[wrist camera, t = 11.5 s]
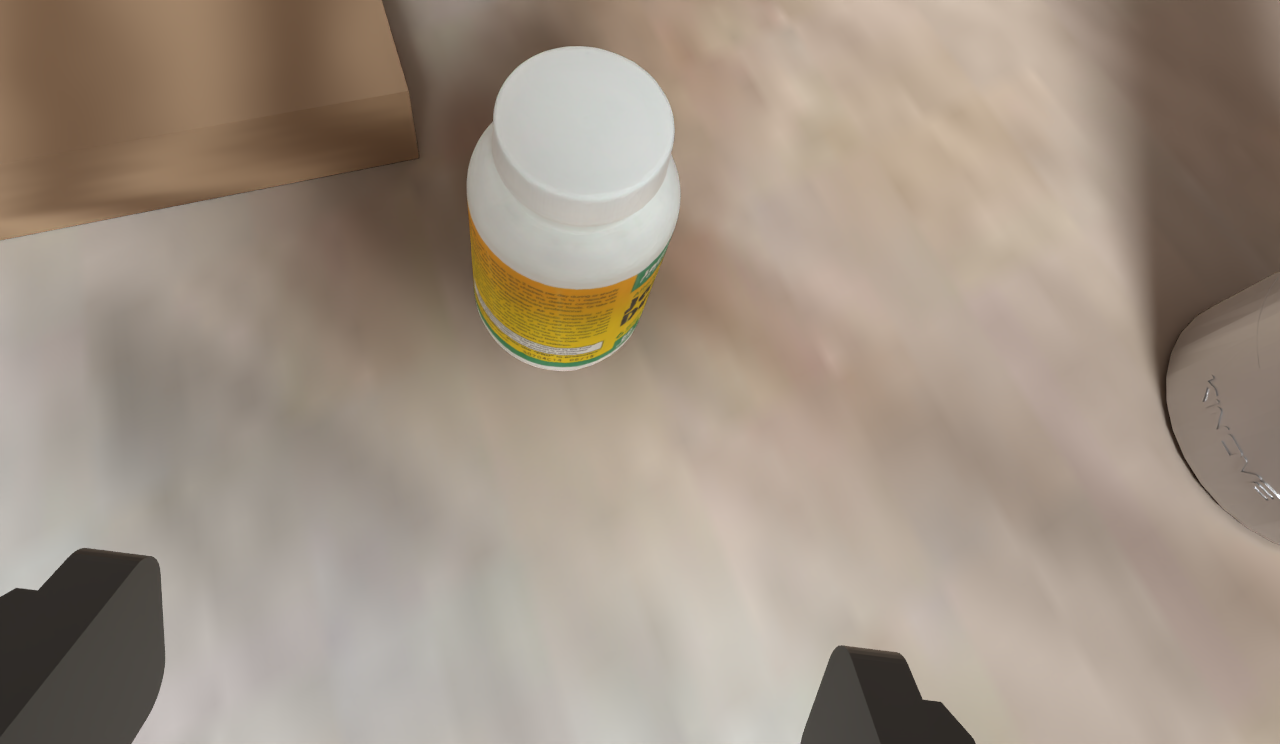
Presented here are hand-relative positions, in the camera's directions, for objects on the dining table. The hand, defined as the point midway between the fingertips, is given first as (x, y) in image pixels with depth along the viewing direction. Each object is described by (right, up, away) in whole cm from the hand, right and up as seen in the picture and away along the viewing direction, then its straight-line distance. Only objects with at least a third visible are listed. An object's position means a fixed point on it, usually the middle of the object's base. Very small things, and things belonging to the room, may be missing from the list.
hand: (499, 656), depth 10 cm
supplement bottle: (-1, +6, +18) cm, 19 cm away
